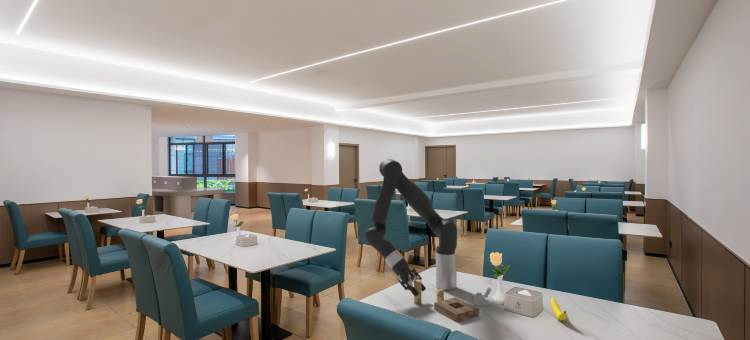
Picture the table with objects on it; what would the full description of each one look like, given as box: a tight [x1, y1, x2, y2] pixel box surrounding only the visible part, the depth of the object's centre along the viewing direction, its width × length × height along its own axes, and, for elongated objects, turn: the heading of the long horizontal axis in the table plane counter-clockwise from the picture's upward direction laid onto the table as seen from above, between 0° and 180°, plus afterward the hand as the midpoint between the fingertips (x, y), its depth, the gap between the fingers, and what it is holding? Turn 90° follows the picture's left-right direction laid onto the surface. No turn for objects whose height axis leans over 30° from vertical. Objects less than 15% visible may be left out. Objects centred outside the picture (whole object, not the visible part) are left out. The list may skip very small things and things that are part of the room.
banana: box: [550, 296, 568, 321], centre depth 149 cm, size 3×19×6 cm, turn 168°
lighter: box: [473, 287, 492, 307], centre depth 162 cm, size 7×2×8 cm, turn 72°
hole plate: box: [433, 297, 480, 323], centre depth 155 cm, size 12×14×3 cm
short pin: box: [436, 288, 445, 302], centre depth 168 cm, size 3×3×4 cm
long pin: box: [413, 279, 422, 305], centre depth 165 cm, size 3×3×10 cm
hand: (420, 292), depth 164 cm, fingers open, 7 cm apart
